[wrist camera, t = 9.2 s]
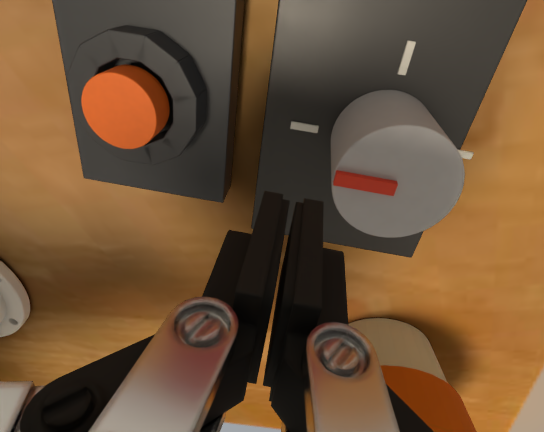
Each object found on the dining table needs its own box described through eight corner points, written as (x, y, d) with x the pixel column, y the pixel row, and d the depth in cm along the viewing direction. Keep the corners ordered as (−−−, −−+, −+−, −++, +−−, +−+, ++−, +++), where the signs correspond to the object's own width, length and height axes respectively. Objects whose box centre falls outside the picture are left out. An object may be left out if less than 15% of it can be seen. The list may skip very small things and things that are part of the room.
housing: (230, 186, 25) (215, 219, 21) (101, 163, 25) (66, 192, 22) (246, -26, 18) (229, -26, 15) (70, -54, 18) (12, -60, 15)
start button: (171, 141, 19) (158, 155, 18) (104, 130, 19) (86, 142, 18) (169, 71, 17) (154, 79, 16) (95, 58, 17) (74, 66, 16)
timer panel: (412, 231, 25) (422, 261, 22) (258, 204, 25) (250, 230, 22) (515, -9, 17) (549, -7, 14) (290, -44, 17) (283, -48, 15)
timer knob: (449, 99, 17) (492, 141, 13) (412, 191, 20) (437, 252, 15) (343, 80, 17) (349, 116, 13) (321, 174, 20) (319, 230, 16)
